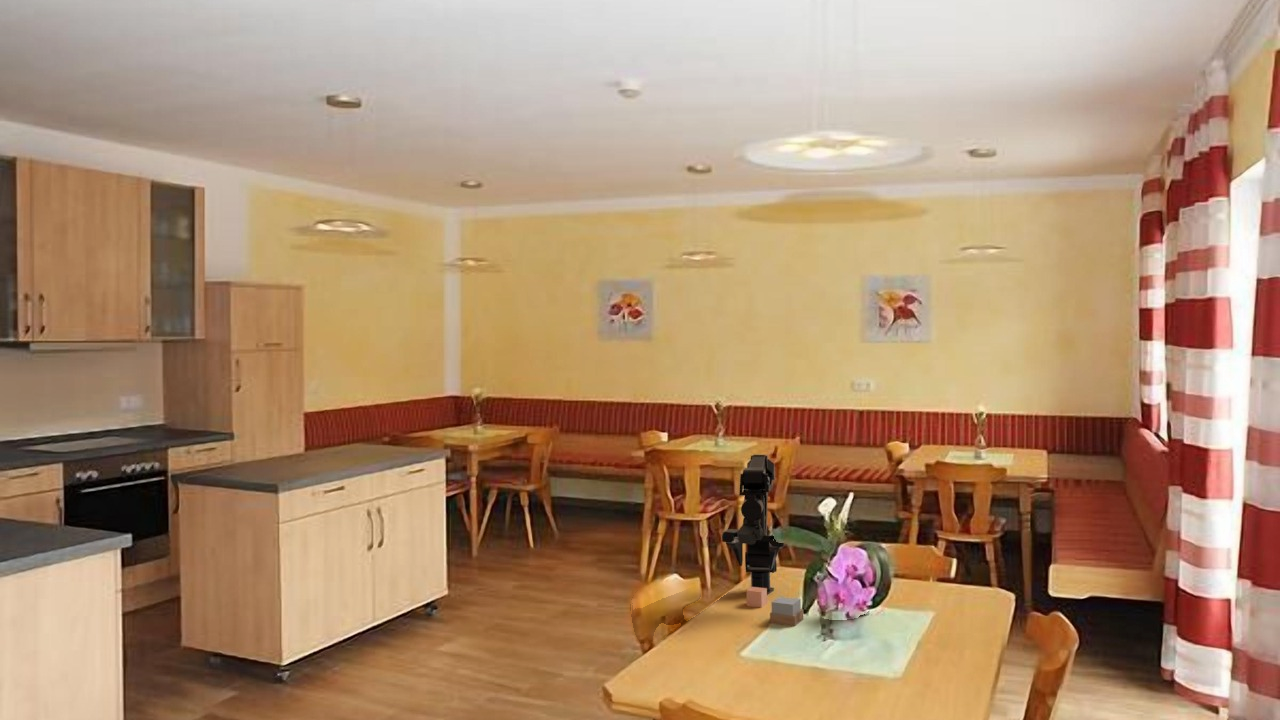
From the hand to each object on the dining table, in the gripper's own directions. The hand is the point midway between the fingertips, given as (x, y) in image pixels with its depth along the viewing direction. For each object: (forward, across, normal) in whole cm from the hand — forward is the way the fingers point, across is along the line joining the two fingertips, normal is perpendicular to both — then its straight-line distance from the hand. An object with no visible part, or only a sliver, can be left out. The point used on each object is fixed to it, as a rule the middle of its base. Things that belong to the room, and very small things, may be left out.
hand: (755, 567), depth 281 cm
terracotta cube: (+11, 0, 0) cm, 11 cm away
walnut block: (+11, +13, -12) cm, 21 cm away
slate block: (+8, +13, -12) cm, 20 cm away
